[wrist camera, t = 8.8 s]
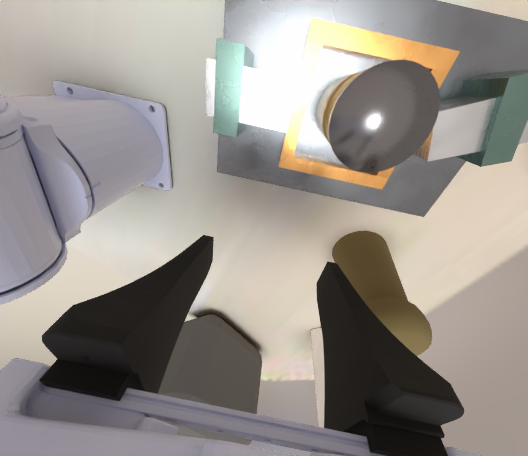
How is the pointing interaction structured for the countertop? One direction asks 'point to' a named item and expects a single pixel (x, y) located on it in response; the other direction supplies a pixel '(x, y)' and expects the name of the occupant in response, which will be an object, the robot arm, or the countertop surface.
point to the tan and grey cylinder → (379, 114)
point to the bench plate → (353, 61)
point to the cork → (382, 287)
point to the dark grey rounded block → (213, 371)
